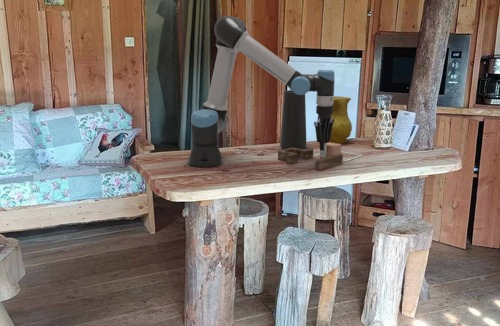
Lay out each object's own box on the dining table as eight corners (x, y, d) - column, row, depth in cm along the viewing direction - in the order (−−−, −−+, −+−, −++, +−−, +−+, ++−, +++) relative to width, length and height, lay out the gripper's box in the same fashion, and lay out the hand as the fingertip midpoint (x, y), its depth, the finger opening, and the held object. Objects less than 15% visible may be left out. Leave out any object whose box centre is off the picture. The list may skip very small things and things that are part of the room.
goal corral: (314, 156, 233) (314, 155, 233) (333, 150, 245) (333, 150, 245) (344, 162, 222) (345, 161, 222) (363, 156, 234) (363, 155, 234)
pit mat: (285, 159, 226) (285, 158, 226) (293, 157, 231) (293, 156, 231) (293, 161, 223) (293, 160, 223) (301, 159, 227) (301, 158, 227)
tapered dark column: (293, 151, 243) (295, 93, 236) (274, 147, 253) (275, 91, 246) (311, 147, 252) (313, 91, 245) (292, 143, 262) (294, 89, 255)
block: (319, 159, 227) (320, 144, 225) (328, 156, 232) (328, 142, 230) (332, 161, 223) (333, 146, 221) (340, 159, 228) (341, 144, 226)
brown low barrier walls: (272, 160, 224) (272, 152, 223) (296, 154, 236) (296, 146, 236) (319, 170, 207) (319, 161, 206) (342, 163, 219) (342, 154, 219)
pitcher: (311, 141, 267) (316, 95, 261) (332, 138, 279) (337, 94, 274) (336, 146, 255) (342, 98, 249) (357, 143, 267) (363, 98, 261)
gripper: (323, 107, 210) (321, 160, 216) (340, 104, 219) (337, 155, 225) (309, 105, 215) (307, 157, 221) (326, 103, 224) (324, 153, 230)
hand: (323, 156), depth 223 cm, fingers closed
